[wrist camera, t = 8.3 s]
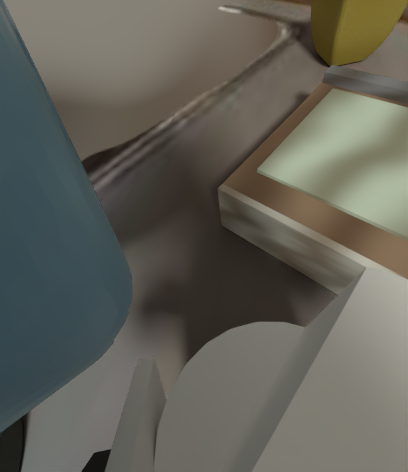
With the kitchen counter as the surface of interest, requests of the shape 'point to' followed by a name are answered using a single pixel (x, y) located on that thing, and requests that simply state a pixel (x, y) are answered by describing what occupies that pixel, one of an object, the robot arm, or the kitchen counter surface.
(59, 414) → the kitchen counter surface
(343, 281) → the dock
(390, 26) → the flower pot
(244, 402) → the cylinder with rectangular tab
